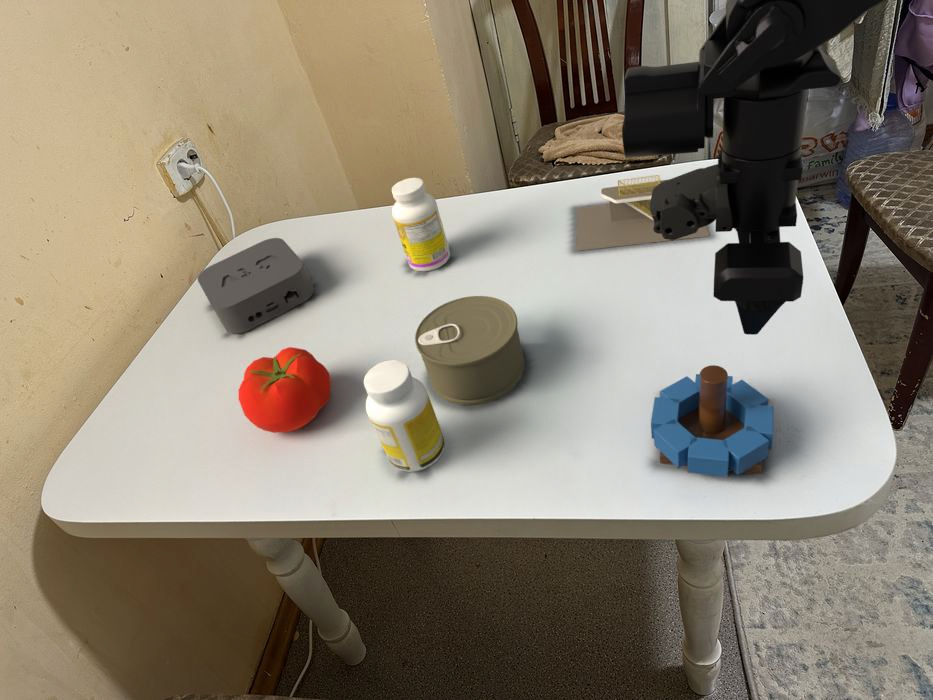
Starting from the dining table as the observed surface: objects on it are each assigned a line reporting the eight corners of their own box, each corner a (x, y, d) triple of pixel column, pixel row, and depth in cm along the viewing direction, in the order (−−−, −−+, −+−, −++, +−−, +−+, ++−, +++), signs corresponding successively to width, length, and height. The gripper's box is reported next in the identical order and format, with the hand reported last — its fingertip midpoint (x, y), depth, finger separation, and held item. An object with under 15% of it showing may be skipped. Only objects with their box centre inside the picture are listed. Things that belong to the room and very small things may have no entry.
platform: (709, 236, 90) (710, 193, 86) (576, 250, 94) (571, 210, 90) (697, 192, 99) (698, 152, 95) (576, 208, 103) (572, 169, 99)
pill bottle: (453, 431, 73) (427, 354, 66) (435, 477, 69) (405, 401, 62) (400, 426, 76) (369, 352, 68) (380, 471, 71) (344, 397, 64)
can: (536, 391, 75) (527, 346, 71) (434, 417, 76) (419, 374, 71) (515, 328, 84) (506, 285, 80) (425, 352, 85) (411, 310, 80)
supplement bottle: (412, 251, 104) (389, 177, 96) (453, 245, 103) (433, 170, 95) (405, 276, 99) (380, 200, 91) (448, 270, 98) (426, 193, 90)
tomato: (247, 451, 78) (218, 408, 73) (266, 387, 86) (242, 344, 82) (332, 436, 77) (309, 391, 72) (344, 373, 85) (323, 329, 80)
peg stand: (760, 403, 67) (767, 343, 62) (760, 474, 61) (767, 414, 56) (668, 396, 70) (667, 339, 65) (660, 463, 64) (657, 405, 59)
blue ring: (770, 395, 66) (772, 378, 65) (771, 482, 59) (774, 465, 57) (659, 387, 70) (658, 371, 69) (647, 468, 63) (646, 452, 61)
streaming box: (290, 259, 111) (277, 233, 107) (320, 295, 100) (308, 267, 97) (209, 299, 107) (193, 273, 103) (232, 341, 96) (216, 313, 93)
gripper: (664, 103, 61) (668, 246, 71) (642, 211, 48) (651, 366, 58) (798, 90, 57) (783, 243, 67) (814, 204, 44) (792, 372, 54)
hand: (750, 300), depth 61 cm, fingers open, 9 cm apart
